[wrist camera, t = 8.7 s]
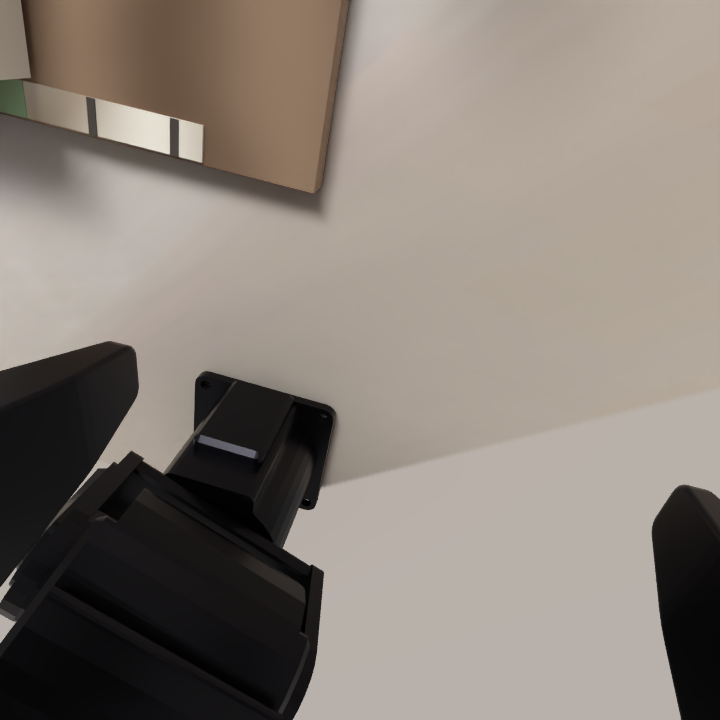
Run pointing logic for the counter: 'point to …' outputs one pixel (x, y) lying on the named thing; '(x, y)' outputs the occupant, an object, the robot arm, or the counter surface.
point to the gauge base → (189, 79)
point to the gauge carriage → (12, 42)
